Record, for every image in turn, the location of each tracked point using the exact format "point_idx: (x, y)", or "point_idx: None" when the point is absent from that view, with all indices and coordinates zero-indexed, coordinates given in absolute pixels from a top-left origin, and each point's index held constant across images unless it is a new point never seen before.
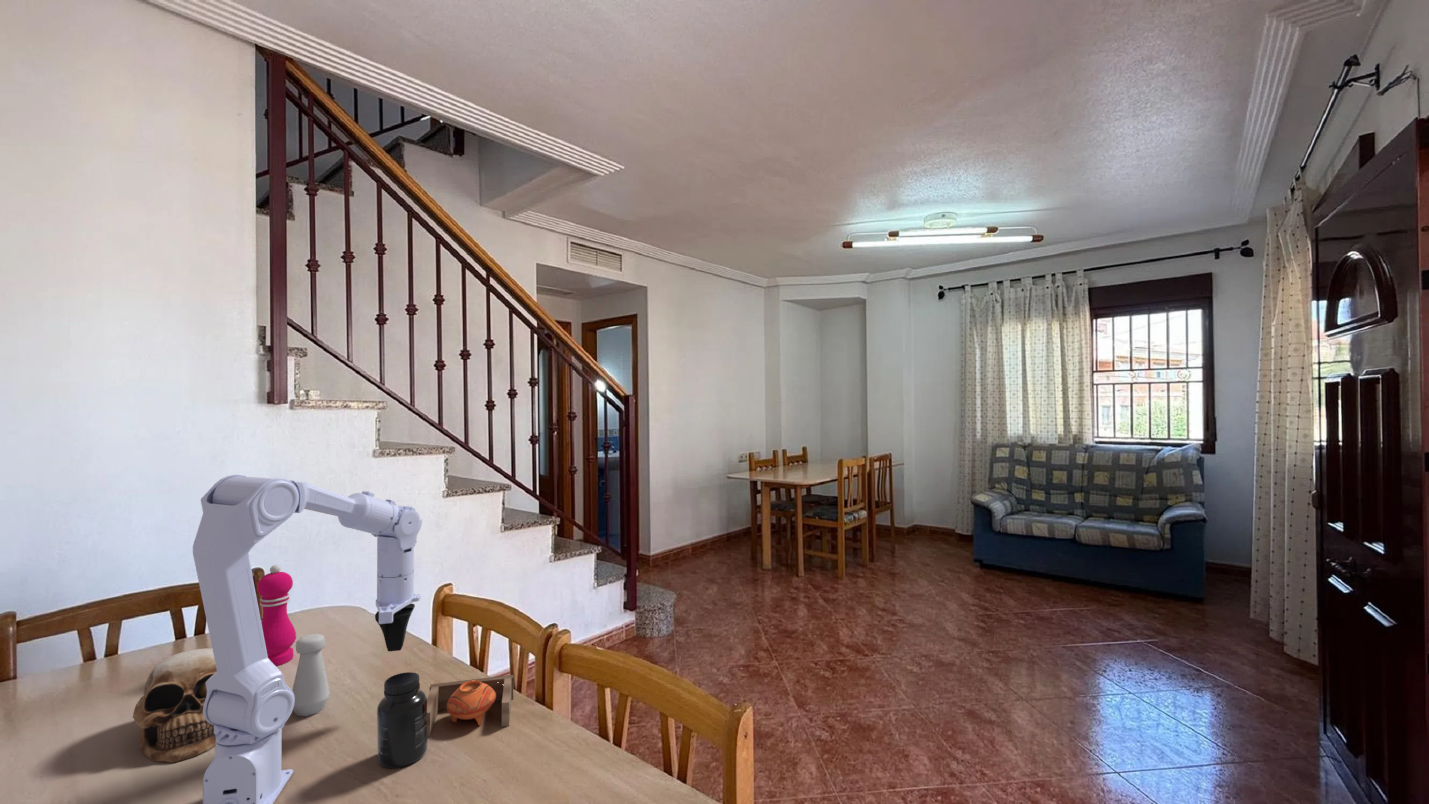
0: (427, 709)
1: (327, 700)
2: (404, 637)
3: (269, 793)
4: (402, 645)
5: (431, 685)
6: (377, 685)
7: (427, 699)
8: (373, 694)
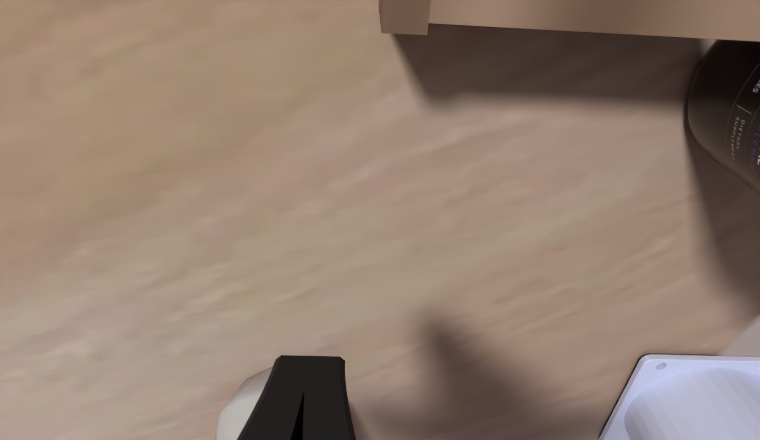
0: (734, 13)
1: (266, 379)
2: (272, 422)
3: (756, 378)
4: (308, 372)
5: (401, 25)
6: (115, 259)
7: (594, 29)
8: (196, 259)
